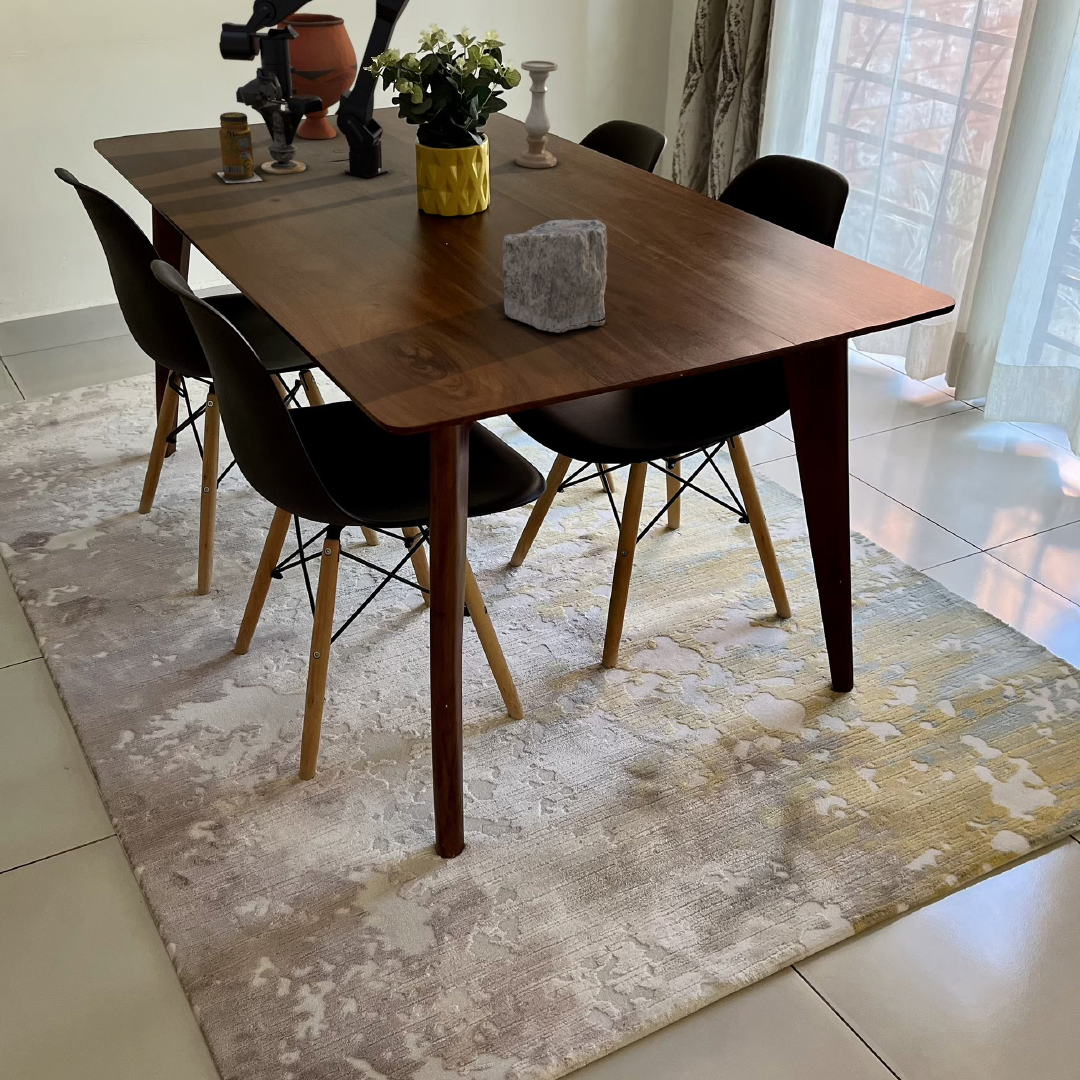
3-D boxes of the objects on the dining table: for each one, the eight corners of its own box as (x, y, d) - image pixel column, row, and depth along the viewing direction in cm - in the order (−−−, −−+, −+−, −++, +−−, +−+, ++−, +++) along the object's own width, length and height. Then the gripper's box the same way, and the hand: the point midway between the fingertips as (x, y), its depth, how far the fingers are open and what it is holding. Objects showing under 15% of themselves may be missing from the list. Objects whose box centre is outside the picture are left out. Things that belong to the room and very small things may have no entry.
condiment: (252, 170, 243) (246, 109, 237) (262, 181, 236) (257, 118, 230) (216, 173, 240) (209, 112, 234) (226, 184, 234) (219, 121, 227)
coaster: (283, 160, 251) (282, 157, 251) (314, 167, 247) (314, 165, 246) (252, 168, 244) (251, 166, 244) (284, 176, 240) (284, 173, 240)
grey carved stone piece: (271, 161, 247) (265, 101, 241) (299, 162, 248) (295, 102, 242) (267, 169, 242) (262, 108, 236) (297, 169, 243) (292, 108, 237)
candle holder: (531, 156, 261) (534, 58, 250) (564, 163, 257) (568, 63, 246) (507, 163, 255) (509, 63, 244) (540, 171, 251) (544, 69, 240)
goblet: (353, 146, 263) (348, 25, 250) (266, 143, 263) (256, 21, 250) (365, 127, 279) (361, 12, 266) (283, 124, 279) (275, 8, 266)
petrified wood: (539, 283, 191) (543, 189, 183) (636, 305, 184) (644, 209, 176) (476, 318, 177) (476, 218, 169) (577, 343, 170) (583, 240, 162)
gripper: (211, 61, 233) (220, 143, 241) (281, 74, 225) (288, 158, 233) (253, 54, 241) (260, 133, 249) (321, 66, 233) (326, 147, 241)
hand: (282, 143), depth 243 cm, fingers closed on grey carved stone piece, 3 cm apart
